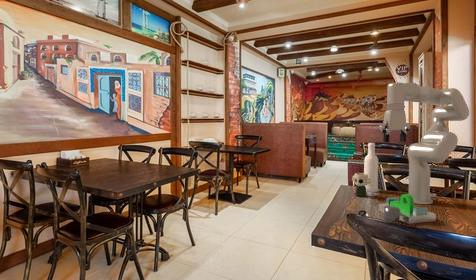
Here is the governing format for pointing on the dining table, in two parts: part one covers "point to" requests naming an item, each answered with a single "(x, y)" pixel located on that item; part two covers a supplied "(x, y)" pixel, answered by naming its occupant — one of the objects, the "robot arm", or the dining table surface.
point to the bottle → (371, 168)
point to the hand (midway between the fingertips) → (394, 141)
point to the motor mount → (396, 214)
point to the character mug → (361, 183)
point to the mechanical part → (404, 203)
